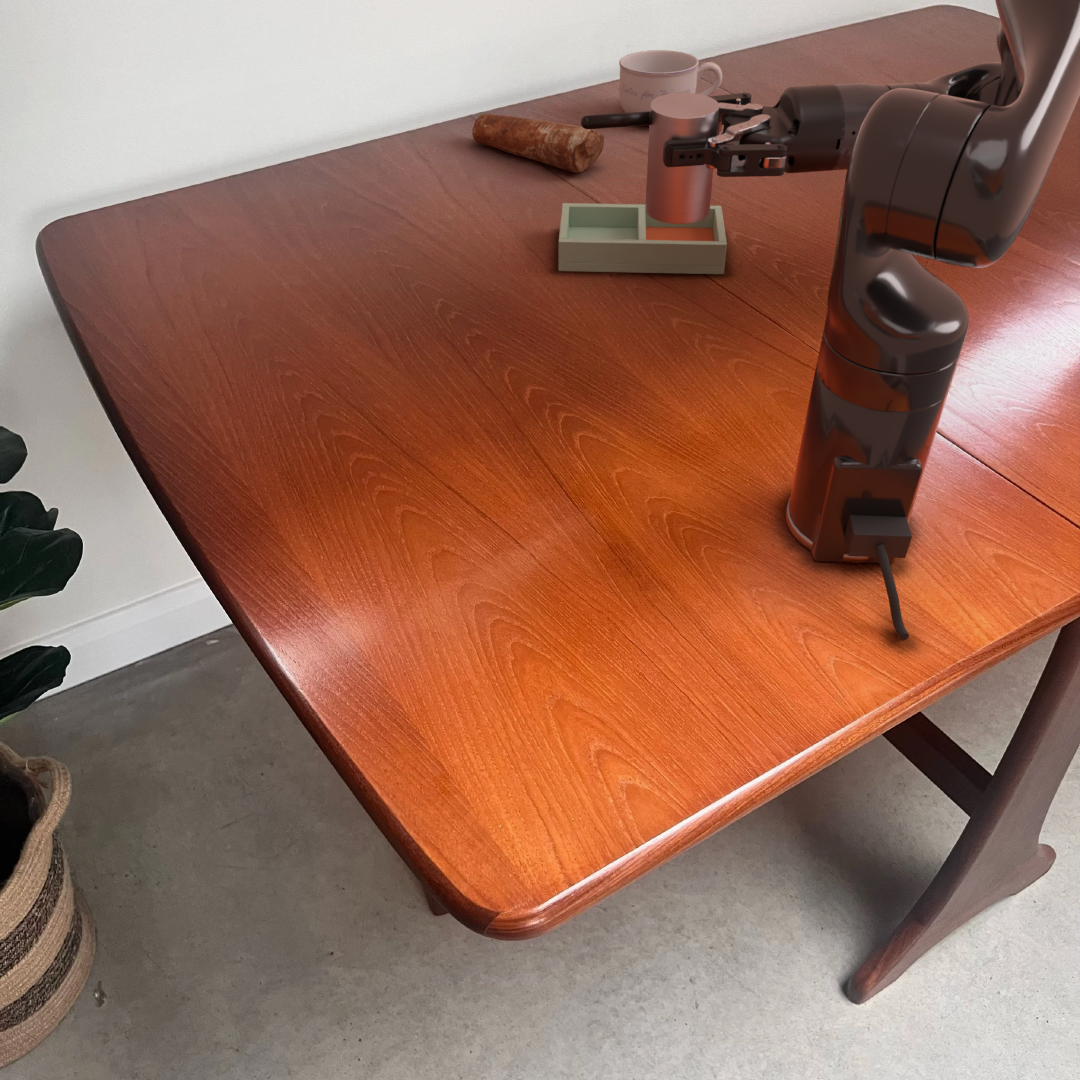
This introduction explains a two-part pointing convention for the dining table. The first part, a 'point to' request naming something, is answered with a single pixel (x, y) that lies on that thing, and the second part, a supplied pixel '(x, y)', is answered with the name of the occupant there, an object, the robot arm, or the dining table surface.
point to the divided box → (638, 241)
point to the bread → (540, 140)
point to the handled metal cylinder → (668, 188)
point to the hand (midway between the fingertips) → (657, 139)
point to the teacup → (660, 77)
